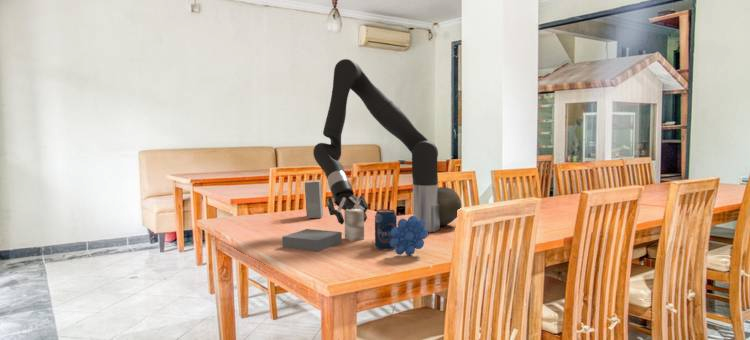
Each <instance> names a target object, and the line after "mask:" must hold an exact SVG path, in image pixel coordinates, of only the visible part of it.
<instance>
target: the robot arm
mask: <svg viewBox="0 0 750 340" xmlns="http://www.w3.org/2000/svg"><path fill="white" fill-rule="evenodd" d="M332 82H333V83H332V89H331V90H332V91H331V97H330V102H329V107H328V111H327V115H326V119H325V123H324V128H323V131H322V132H323V133H322V134H323V136H324V137H326V138H328V139H329V140H330V144H329V143H325V142H319V143H317V144H316V145H315V146H314V147H313V152H312V153H313V159H314V160H315V161H316V163H317V164H318V166H319V168H321V170H322V171H323V172H324V174H325V177H326V181H327V184H328V187H329V190H330V193H331V196H332V197H328V199H327V201H326V205H327V209H328V213H329V215H330V216H335V217H336V220H337V222H338V223H339V224H340V225H343V224H345V218H344V216H343V214H342V212H341V211H342V210H343V211H344V210H350V209H360V210H363V211H364V223H366V221H367V219H368V216H367V211H368V210H369V208H370V207H369V205H368V203H367V201H366V199H365V197H364V195H363V194H361V195H360V196H358V197H357V196H356V195H355V193H354V190H353V188H352V185H351V183H350V180H349V177H348V175H346V172H345V169H344V167H343V165H342V163H341V162H340V159H341V156H342V134H343V130H344V125H345V121H346V116H347V103H348V98H349V94H350V90H351V91H352V92H354V93H355V94H356V95H357V96H358V97H359V98H360V99H361V101H362V102H363V104H364V106H365V108H366V109H367V110H368V111H369V113H370V114H371V116H372V117H373V118H374V119H375V120H376V121H377V122H378V123H379V124H380V126H382V127H383V128H384V129H385V130H386V131H388V132H389V133H390V134H392V136H394V137H395V138H396V139H398V140H399V141H401V143H402V144H403V145H404V146H405V147H406V148H407V150H408V151H409V152H410V153H411V175H412V216H416V217H417V221H419V220H424V221H425V224H426V225H425V227H424V228H423V229H426V230H427V231H428V233H435V232H437V231H439V230H441V228H440V227H441V226H440V205H439V204H438V188H439V186H438V185H439V184H438V183H439V182H438V181H439V177H438V157H439V150H438V148H437V146H436V145H435V143H433V142H432V141H431V140H429V139H428V138H427V137H426V136H425V135H424V134H423V133H421V132H420V130H418V128H416V127H415V125H413V123H412V121H411V120H410V119H409V118H408V116H406V114H405V113H404V112H403V111H402V110H401V108H400V107H399V106H398V105H397V104H396V103H395V102H394V101H393V100H392V99H391V98H390V97H389V96H388V95H387V94H386V93H385V92H383V91H382V90H381V88H379V87H377V86H376V85H375V84H374V83H373V82H372V80H370V78H369V77H368V75H366V73H365V72H364V71H363V70H362V68H361V67H360V65H359V64H358V63H357V62H355V61H353V60H351V59H349V58H348V59H347V58H344V59H341V60H339V61H338V62H337V63H336V64H335V67H334V68H333V81H332ZM334 205H336V206H337V209H335V206H334Z"/></svg>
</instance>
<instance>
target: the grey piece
mask: <svg viewBox="0 0 750 340" xmlns="http://www.w3.org/2000/svg"><path fill="white" fill-rule="evenodd" d="M343 211H344V239H345V238H346V239H345V240H348V241H351V242H354V240H355V241H361V240H362V241H363V240H365V222H364V211H363V210H361V209H350V210H349V209H347V210H343Z"/></svg>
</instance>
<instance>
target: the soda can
mask: <svg viewBox="0 0 750 340" xmlns="http://www.w3.org/2000/svg"><path fill="white" fill-rule="evenodd" d="M397 218H398V217H397V215H396V212H395V209H387V208H386V209H385V208H384V209H378V210H376V213H375V215H374V245H375V247H376V249H378V250H381V251H390V250H394V249H395V248H393V247H391V246H390V241H391V239H392V238H394V237H392V236H391V230H392V229H393V228H394V227H398V225H397V224H398V222H397Z"/></svg>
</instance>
